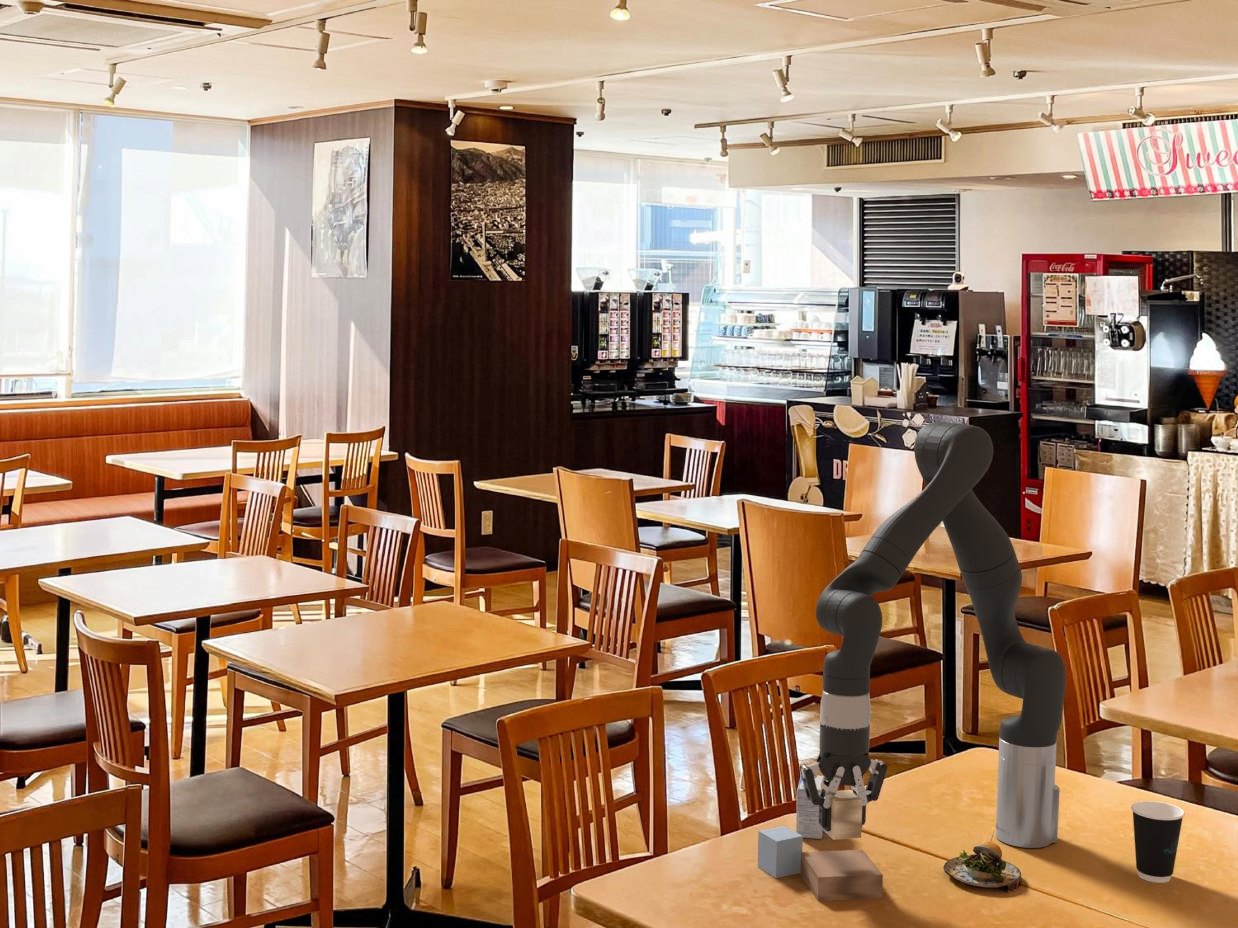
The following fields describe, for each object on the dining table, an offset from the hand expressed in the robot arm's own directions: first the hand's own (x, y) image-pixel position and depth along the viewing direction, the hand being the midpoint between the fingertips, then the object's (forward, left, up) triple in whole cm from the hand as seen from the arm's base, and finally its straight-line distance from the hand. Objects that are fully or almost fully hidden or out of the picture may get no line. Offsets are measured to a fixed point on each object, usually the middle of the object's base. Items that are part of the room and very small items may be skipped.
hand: (841, 827), depth 215 cm
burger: (-23, +2, -10) cm, 25 cm away
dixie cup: (-50, +7, -9) cm, 51 cm away
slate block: (+7, -8, -9) cm, 14 cm away
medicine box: (-4, -23, -10) cm, 25 cm away
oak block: (0, 0, -1) cm, 1 cm away
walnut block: (0, 0, -10) cm, 10 cm away
